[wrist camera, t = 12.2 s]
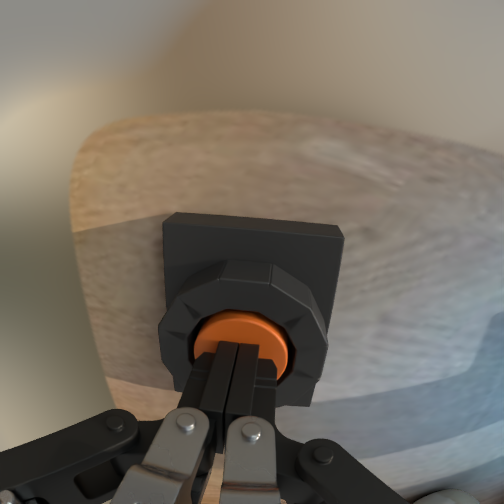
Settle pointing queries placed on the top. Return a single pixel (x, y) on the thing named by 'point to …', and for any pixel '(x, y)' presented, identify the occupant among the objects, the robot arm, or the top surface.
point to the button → (244, 335)
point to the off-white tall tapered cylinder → (448, 498)
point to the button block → (251, 288)
